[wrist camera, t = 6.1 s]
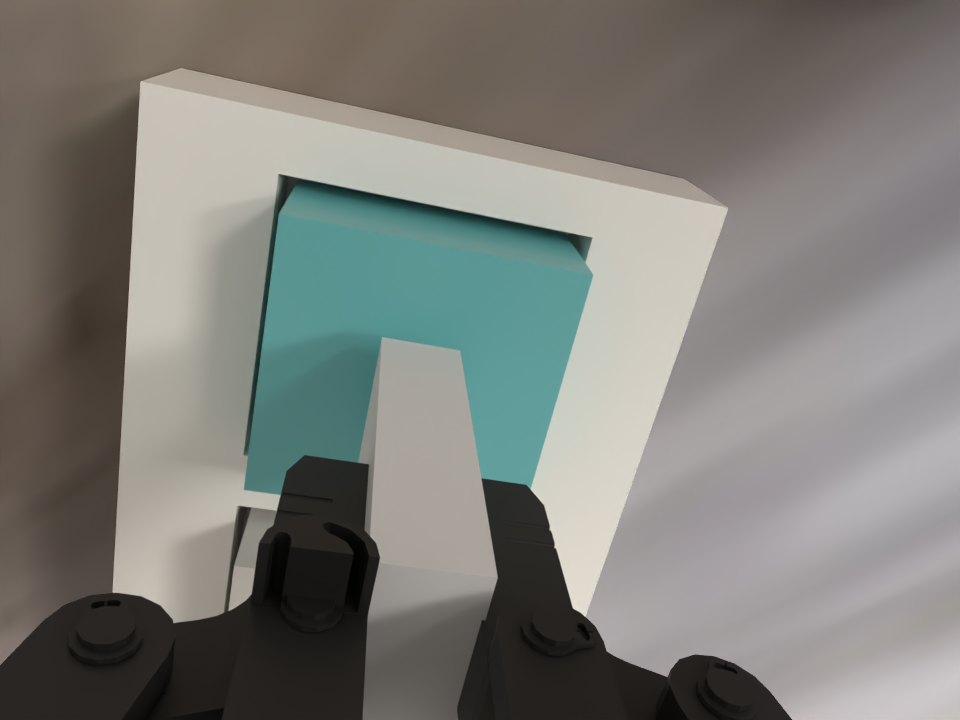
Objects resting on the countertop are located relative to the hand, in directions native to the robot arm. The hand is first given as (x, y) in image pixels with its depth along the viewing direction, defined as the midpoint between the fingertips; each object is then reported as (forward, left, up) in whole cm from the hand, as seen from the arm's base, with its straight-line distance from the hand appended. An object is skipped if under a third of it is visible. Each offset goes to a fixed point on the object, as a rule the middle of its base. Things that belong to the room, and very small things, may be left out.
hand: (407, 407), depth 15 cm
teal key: (0, 0, -4) cm, 4 cm away
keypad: (0, +8, -6) cm, 10 cm away
